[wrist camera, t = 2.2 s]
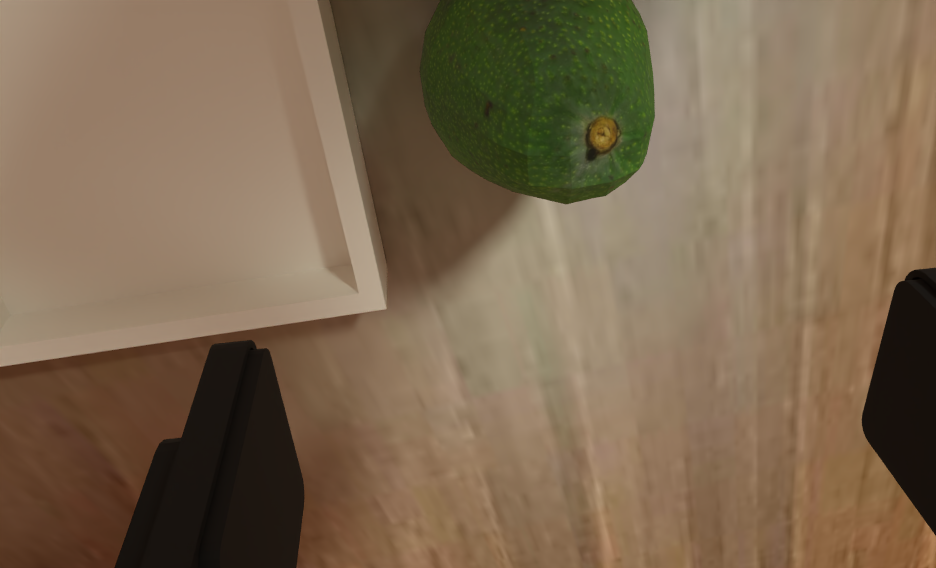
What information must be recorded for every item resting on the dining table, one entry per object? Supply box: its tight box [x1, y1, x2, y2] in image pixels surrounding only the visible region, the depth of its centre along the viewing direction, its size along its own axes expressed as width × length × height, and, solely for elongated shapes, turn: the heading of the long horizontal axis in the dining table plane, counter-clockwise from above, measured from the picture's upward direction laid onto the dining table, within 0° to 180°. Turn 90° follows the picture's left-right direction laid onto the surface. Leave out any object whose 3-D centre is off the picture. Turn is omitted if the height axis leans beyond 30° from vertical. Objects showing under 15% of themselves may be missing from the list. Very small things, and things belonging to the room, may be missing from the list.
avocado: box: [420, 0, 655, 204], centre depth 27 cm, size 8×8×12 cm
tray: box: [0, 0, 387, 367], centre depth 31 cm, size 18×18×4 cm
